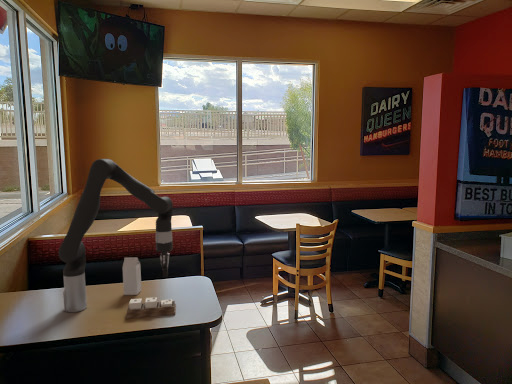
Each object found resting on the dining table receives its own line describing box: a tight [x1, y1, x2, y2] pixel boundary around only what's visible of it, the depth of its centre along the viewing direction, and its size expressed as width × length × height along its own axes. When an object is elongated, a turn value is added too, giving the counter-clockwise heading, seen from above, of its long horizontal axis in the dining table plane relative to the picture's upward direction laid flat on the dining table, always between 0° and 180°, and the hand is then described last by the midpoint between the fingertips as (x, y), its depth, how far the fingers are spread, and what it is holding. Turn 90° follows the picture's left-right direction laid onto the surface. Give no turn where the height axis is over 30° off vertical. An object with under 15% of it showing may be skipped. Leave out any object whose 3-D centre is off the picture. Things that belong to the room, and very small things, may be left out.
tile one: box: [128, 297, 143, 310], centre depth 185 cm, size 5×5×3 cm
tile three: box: [160, 299, 173, 307], centre depth 187 cm, size 5×5×3 cm
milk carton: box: [121, 257, 142, 296], centre depth 210 cm, size 7×7×19 cm
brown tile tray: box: [125, 300, 177, 320], centre depth 186 cm, size 22×10×3 cm, turn 100°
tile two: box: [144, 296, 158, 308], centre depth 186 cm, size 5×5×3 cm
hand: (165, 276), depth 185 cm, fingers closed
